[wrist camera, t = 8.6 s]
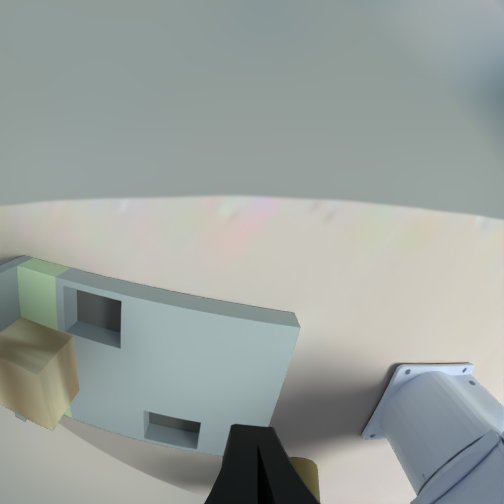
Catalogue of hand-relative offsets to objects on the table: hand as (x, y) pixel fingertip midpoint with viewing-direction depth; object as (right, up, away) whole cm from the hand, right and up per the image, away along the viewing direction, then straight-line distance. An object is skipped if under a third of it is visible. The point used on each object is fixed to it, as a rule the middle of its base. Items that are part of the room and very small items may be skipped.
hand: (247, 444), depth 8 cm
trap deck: (-7, -1, +10) cm, 13 cm away
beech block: (-14, -1, +8) cm, 16 cm away
